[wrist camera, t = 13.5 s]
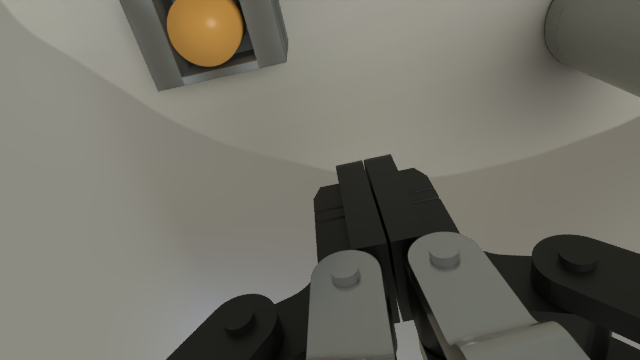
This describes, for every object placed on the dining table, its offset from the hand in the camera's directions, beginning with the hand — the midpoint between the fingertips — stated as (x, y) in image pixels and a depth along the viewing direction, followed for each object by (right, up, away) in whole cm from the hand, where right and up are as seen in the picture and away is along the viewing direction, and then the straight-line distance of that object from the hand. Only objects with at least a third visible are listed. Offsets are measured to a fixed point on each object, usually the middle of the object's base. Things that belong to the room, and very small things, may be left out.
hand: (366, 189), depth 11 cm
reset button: (-10, +13, +21) cm, 26 cm away
